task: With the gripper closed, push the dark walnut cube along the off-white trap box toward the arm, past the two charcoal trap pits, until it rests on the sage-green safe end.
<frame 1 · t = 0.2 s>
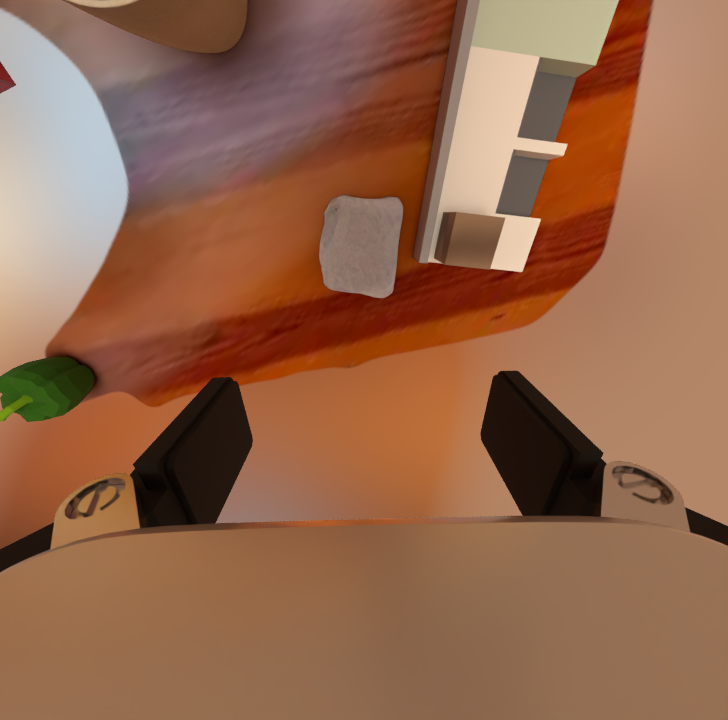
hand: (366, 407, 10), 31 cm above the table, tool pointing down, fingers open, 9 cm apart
plant pot: (207, 2, 26), on the table
walnut cube: (458, 238, 33), point 3 cm above the table, touching trap box
trap box: (492, 142, 31), on the table
bell pepper: (76, 371, 44), on the table
stone block: (358, 246, 37), on the table
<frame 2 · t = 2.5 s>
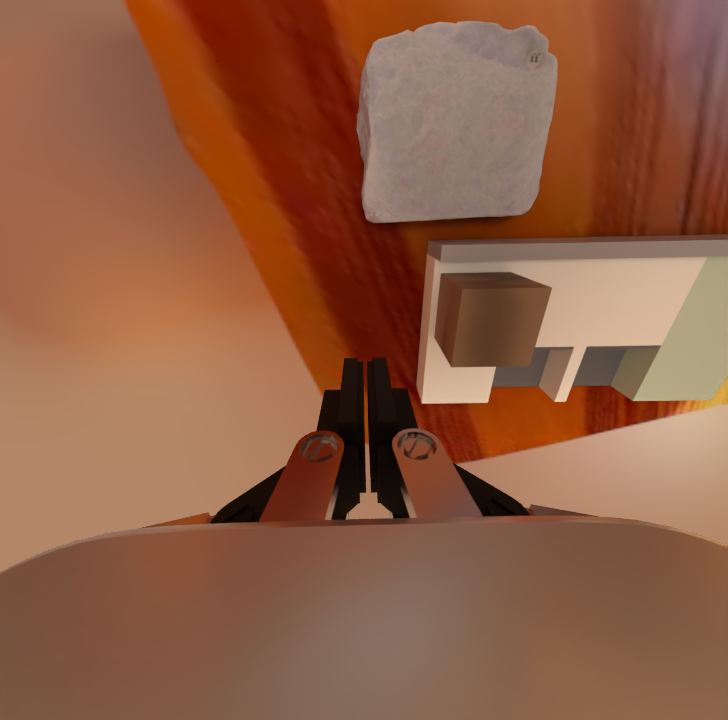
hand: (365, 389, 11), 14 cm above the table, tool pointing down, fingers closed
walnut cube: (470, 306, 21), point 3 cm above the table, touching trap box
trap box: (567, 319, 25), on the table
stone block: (442, 141, 19), on the table
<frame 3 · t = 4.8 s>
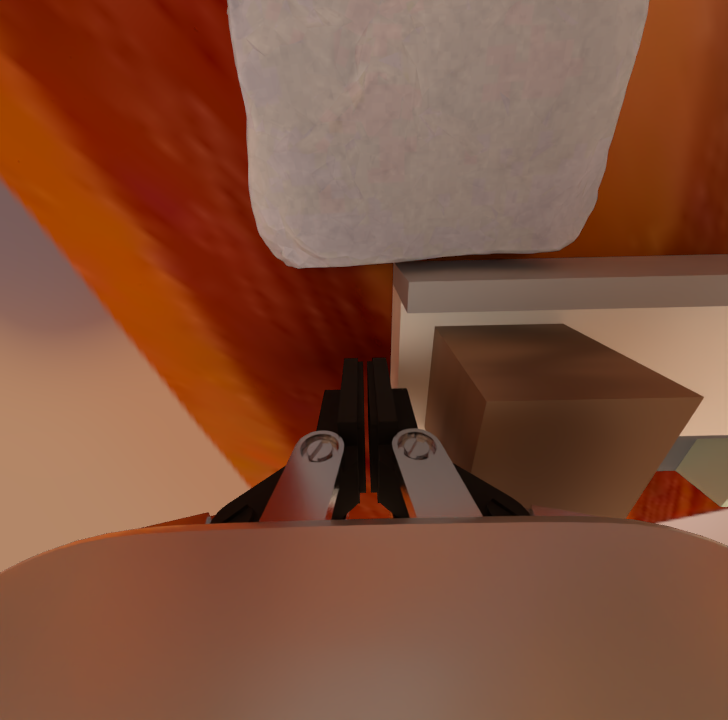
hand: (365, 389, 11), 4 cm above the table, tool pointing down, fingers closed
walnut cube: (487, 379, 12), point 3 cm above the table, touching gripper, trap box
trap box: (620, 382, 16), on the table
stone block: (411, 115, 11), on the table
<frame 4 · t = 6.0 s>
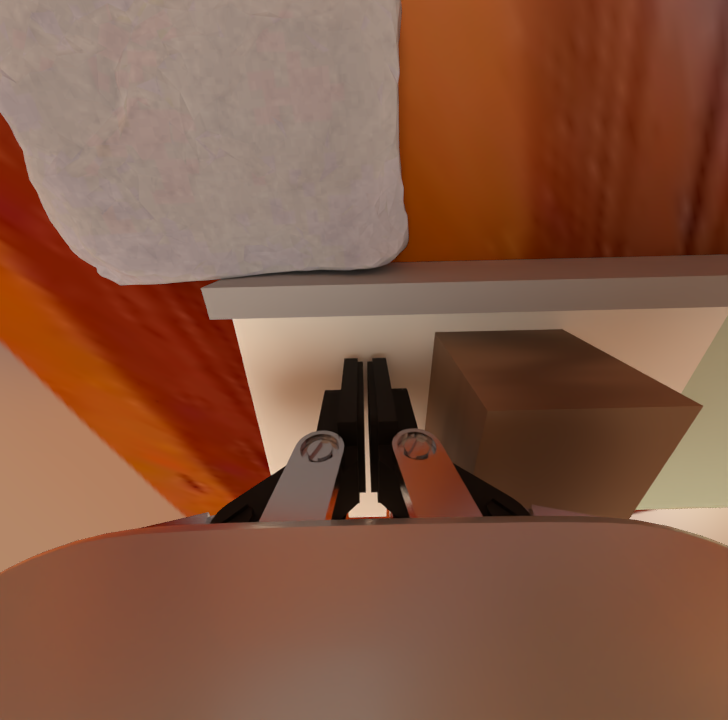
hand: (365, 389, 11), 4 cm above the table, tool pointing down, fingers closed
walnut cube: (487, 384, 12), point 3 cm above the table, touching gripper
trap box: (507, 385, 16), on the table
stone block: (248, 132, 11), on the table
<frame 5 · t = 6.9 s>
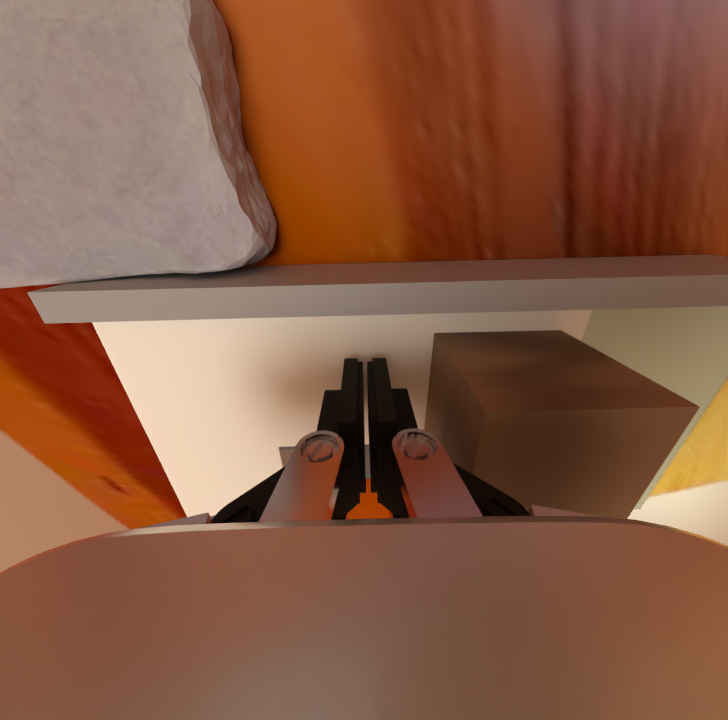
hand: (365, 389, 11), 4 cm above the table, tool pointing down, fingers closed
walnut cube: (486, 385, 12), point 3 cm above the table, touching gripper, trap box
trap box: (413, 387, 16), on the table
stone block: (111, 136, 11), on the table
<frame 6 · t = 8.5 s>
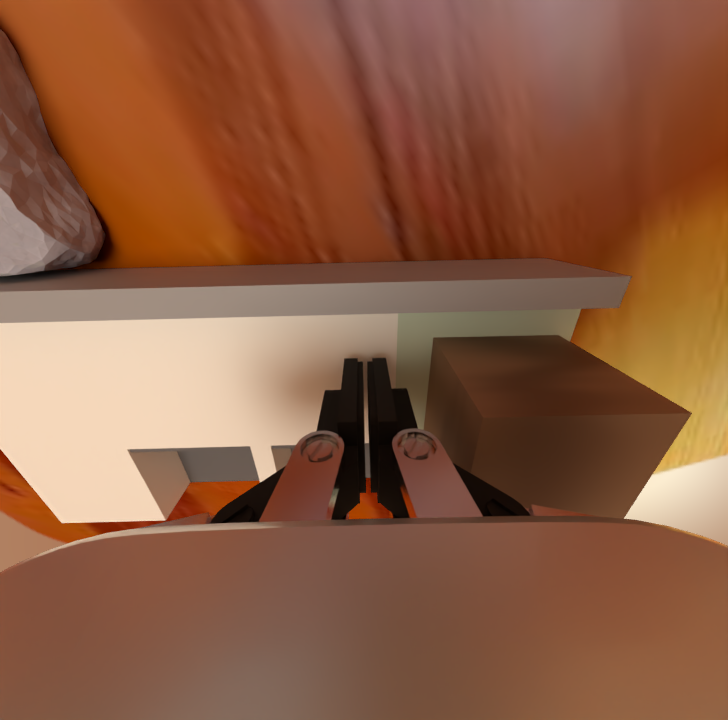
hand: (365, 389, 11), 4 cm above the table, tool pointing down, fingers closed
walnut cube: (484, 389, 12), point 3 cm above the table, touching trap box
trap box: (281, 390, 16), on the table
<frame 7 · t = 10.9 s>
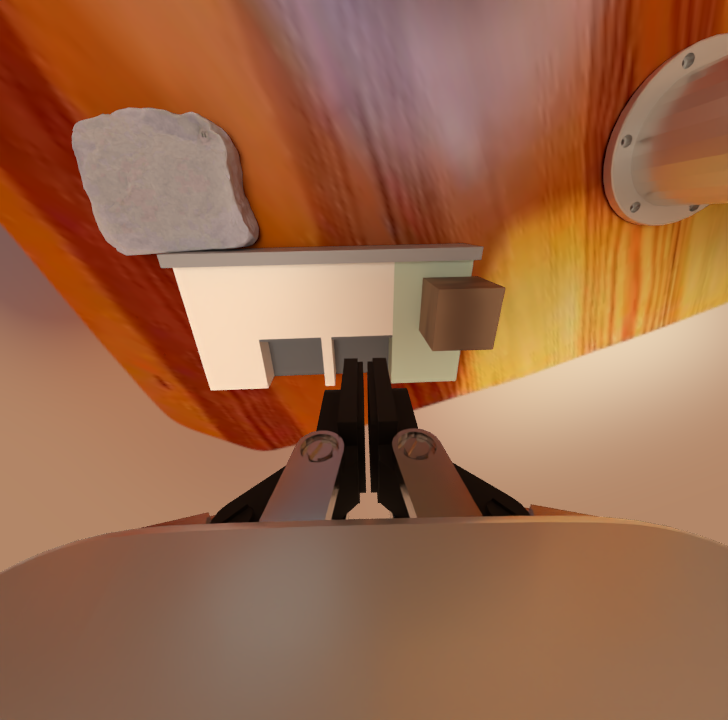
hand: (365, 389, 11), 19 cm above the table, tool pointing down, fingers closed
walnut cube: (447, 304, 26), point 3 cm above the table, touching trap box
trap box: (332, 315, 29), on the table
stone block: (183, 189, 24), on the table
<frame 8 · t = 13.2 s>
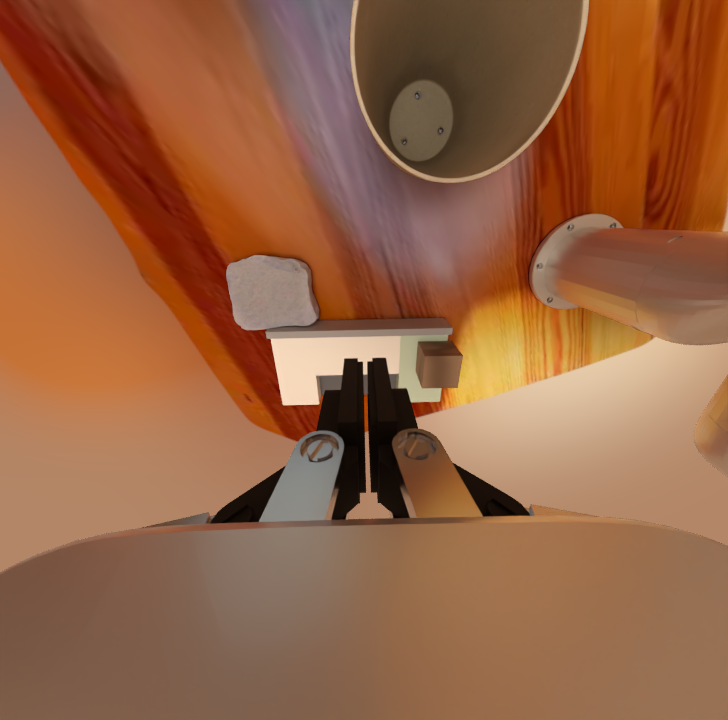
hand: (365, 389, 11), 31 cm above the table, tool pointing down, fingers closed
plant pot: (418, 123, 32), on the table
walnut cube: (433, 356, 42), point 3 cm above the table, touching trap box
trap box: (360, 358, 46), on the table
stone block: (276, 288, 41), on the table
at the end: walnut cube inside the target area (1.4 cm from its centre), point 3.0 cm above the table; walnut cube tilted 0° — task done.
